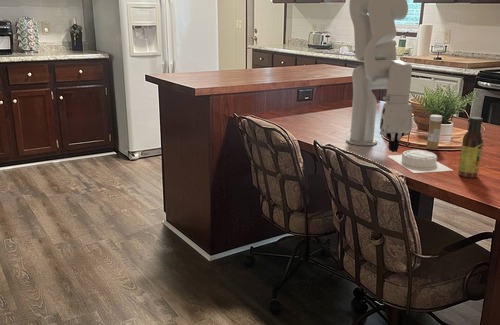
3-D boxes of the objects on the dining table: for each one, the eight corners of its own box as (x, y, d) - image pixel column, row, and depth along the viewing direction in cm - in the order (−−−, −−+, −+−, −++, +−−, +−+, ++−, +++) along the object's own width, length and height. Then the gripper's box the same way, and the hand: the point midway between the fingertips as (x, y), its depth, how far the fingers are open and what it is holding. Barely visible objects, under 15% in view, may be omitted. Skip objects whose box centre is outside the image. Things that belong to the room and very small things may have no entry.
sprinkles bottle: (424, 147, 197) (428, 114, 193) (434, 146, 197) (439, 114, 193) (429, 150, 193) (433, 116, 188) (440, 150, 193) (444, 116, 189)
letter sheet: (386, 155, 185) (386, 155, 185) (422, 153, 188) (422, 153, 188) (413, 173, 166) (413, 173, 166) (453, 170, 169) (453, 170, 169)
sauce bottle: (478, 179, 161) (487, 120, 155) (457, 177, 163) (466, 119, 157) (477, 173, 167) (486, 116, 160) (457, 171, 169) (465, 115, 163)
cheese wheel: (441, 162, 178) (442, 153, 177) (428, 170, 169) (429, 160, 168) (410, 155, 185) (411, 146, 184) (395, 163, 177) (396, 153, 176)
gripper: (382, 101, 162) (378, 154, 168) (423, 100, 165) (417, 152, 171) (372, 98, 170) (368, 149, 175) (411, 97, 172) (407, 147, 178)
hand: (393, 150), depth 173 cm, fingers closed
